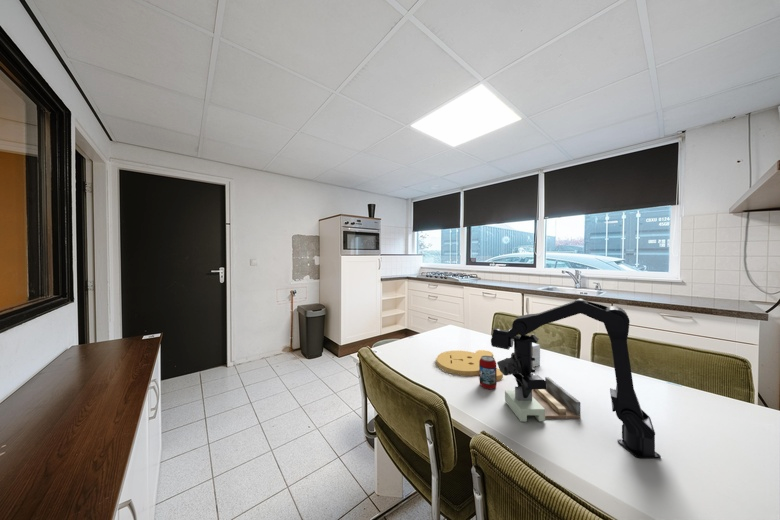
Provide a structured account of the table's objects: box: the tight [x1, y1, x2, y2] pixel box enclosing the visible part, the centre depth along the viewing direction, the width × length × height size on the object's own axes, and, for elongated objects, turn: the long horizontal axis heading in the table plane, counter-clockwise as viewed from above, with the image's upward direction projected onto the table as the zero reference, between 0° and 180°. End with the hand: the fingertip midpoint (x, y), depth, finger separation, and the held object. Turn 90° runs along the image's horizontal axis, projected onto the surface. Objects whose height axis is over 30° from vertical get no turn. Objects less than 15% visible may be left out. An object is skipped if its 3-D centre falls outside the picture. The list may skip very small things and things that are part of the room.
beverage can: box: [479, 356, 497, 390], centre depth 109 cm, size 7×7×12 cm
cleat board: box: [532, 376, 581, 420], centre depth 95 cm, size 18×12×6 cm, turn 179°
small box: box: [532, 342, 541, 368], centre depth 130 cm, size 8×6×10 cm
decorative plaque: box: [436, 349, 504, 381], centre depth 131 cm, size 31×3×30 cm
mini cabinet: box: [504, 386, 546, 422], centre depth 91 cm, size 12×8×8 cm, turn 179°
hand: (523, 396), depth 91 cm, fingers closed on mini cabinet
